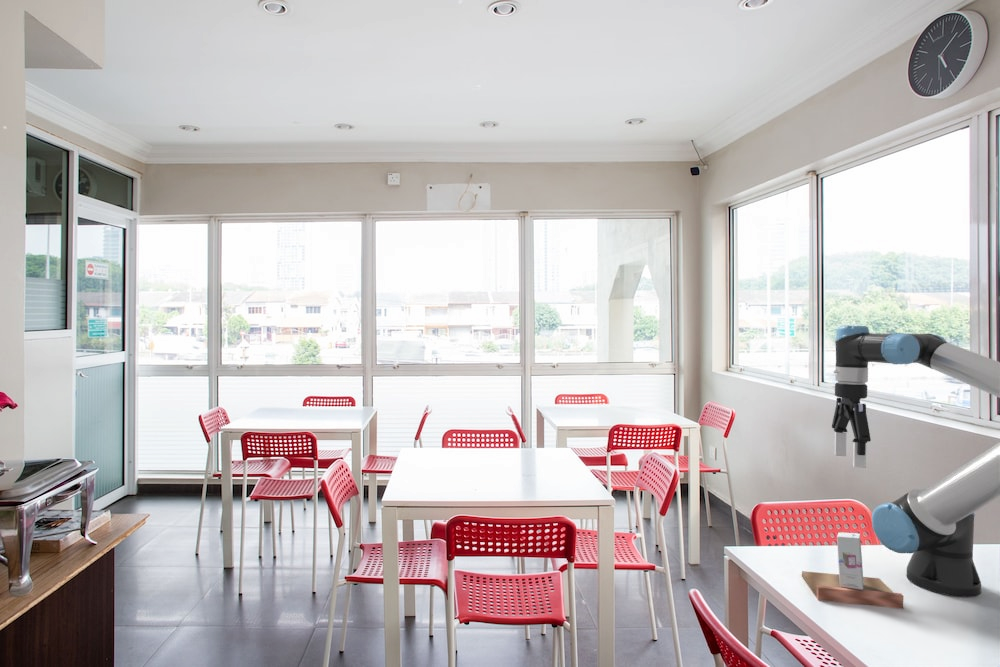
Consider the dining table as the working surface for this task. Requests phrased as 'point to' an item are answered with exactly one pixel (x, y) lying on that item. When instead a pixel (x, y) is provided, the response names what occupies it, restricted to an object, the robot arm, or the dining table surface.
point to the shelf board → (852, 591)
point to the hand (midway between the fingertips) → (849, 461)
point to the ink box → (850, 560)
